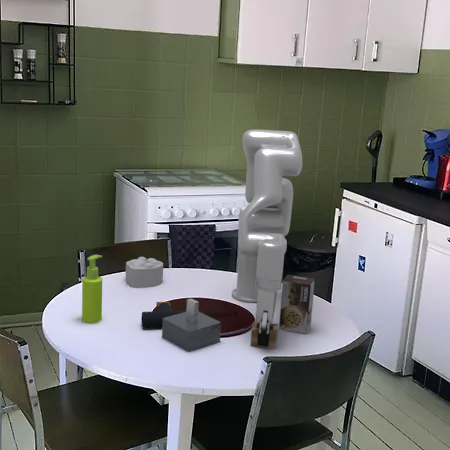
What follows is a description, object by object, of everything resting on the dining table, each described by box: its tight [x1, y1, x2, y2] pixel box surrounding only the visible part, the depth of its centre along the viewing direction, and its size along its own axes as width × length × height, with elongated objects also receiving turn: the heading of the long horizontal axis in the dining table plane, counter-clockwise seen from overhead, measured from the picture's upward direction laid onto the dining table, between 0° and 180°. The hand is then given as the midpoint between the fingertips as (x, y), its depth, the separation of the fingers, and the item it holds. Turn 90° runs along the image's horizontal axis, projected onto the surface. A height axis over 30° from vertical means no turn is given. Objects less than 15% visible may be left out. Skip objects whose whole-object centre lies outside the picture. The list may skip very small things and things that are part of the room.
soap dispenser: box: [81, 254, 104, 324], centre depth 198 cm, size 6×7×20 cm
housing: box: [161, 298, 222, 353], centre depth 189 cm, size 12×12×12 cm
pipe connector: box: [141, 301, 187, 329], centre depth 201 cm, size 12×5×15 cm
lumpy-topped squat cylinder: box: [125, 256, 164, 289], centre depth 234 cm, size 10×13×9 cm
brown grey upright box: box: [278, 274, 316, 335], centre depth 201 cm, size 9×6×16 cm
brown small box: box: [250, 321, 279, 350], centre depth 191 cm, size 6×7×5 cm
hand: (263, 340), depth 191 cm, fingers closed on brown small box, 6 cm apart
